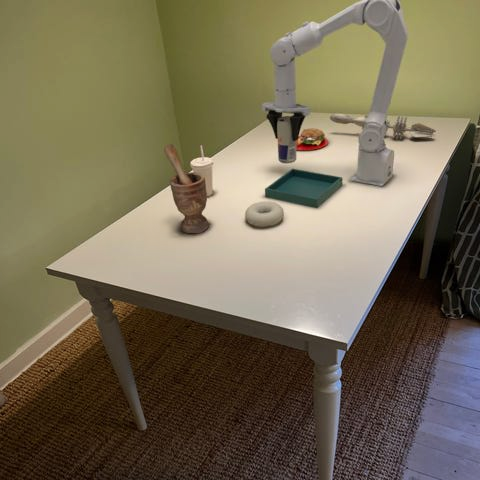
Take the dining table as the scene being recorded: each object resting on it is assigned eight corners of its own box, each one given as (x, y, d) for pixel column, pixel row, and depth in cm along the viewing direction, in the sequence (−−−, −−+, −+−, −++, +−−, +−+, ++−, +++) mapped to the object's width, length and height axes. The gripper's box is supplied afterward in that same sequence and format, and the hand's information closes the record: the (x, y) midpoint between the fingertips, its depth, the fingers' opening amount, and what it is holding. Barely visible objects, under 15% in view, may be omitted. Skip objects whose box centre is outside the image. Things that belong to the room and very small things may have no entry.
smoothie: (214, 198, 136) (207, 150, 128) (192, 198, 138) (184, 150, 129) (219, 189, 141) (213, 141, 132) (198, 189, 143) (191, 141, 134)
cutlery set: (334, 105, 167) (330, 103, 160) (439, 121, 156) (438, 119, 149) (329, 130, 170) (324, 128, 163) (431, 146, 159) (431, 145, 152)
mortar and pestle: (163, 228, 126) (146, 153, 113) (183, 214, 131) (170, 140, 118) (198, 237, 120) (185, 159, 107) (217, 222, 125) (207, 146, 113)
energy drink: (277, 158, 145) (275, 117, 138) (294, 156, 145) (294, 114, 138) (279, 164, 141) (278, 122, 134) (297, 162, 141) (297, 120, 134)
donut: (238, 218, 126) (257, 233, 119) (237, 206, 124) (256, 220, 117) (271, 207, 129) (291, 221, 122) (270, 195, 127) (291, 208, 120)
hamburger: (294, 135, 171) (294, 117, 167) (333, 137, 165) (333, 119, 162) (280, 149, 161) (279, 131, 157) (320, 152, 156) (321, 134, 152)
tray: (342, 185, 136) (342, 177, 134) (316, 208, 127) (317, 199, 125) (292, 176, 144) (292, 168, 142) (265, 196, 135) (264, 188, 133)
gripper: (254, 90, 132) (258, 140, 140) (301, 94, 125) (301, 146, 133) (268, 83, 136) (271, 132, 145) (314, 87, 129) (314, 138, 138)
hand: (286, 138), depth 139 cm, fingers closed on energy drink, 5 cm apart
